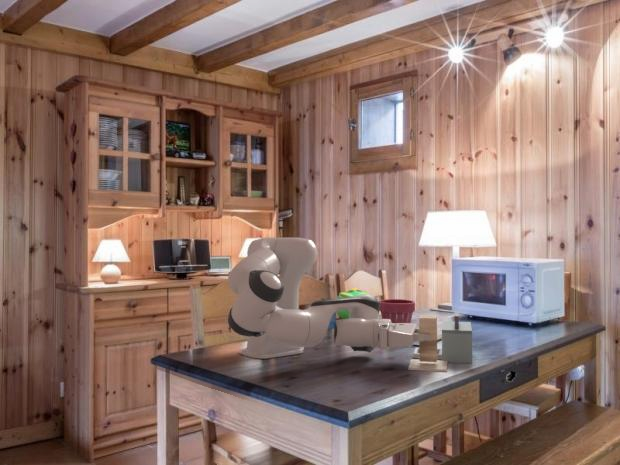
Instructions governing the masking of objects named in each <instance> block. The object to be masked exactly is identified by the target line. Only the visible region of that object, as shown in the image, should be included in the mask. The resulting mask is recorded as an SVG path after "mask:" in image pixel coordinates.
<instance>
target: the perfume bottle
mask: <svg viewBox="0 0 620 465" xmlns="http://www.w3.org/2000/svg"><path fill="white" fill-rule="evenodd" d="M328 299H329V298H322V299H321V300H328ZM336 320H337V313H336V312H335V313H334V314H333V316H332V318H331V321H330V323H329V326H328V330H329V329H330V330H331V329H334V325H335V322H336Z"/></svg>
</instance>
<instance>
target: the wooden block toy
mask: <svg viewBox="0 0 620 465" xmlns="http://www.w3.org/2000/svg"><path fill="white" fill-rule="evenodd" d="M459 318H460V317H459V310H454V321H449V320H448V321H447V320H446V321H445V320H444V321H442V326H441V348H439V347H437V360H442V361H447V363H455V364H458V363H459V364H473V329H472V323H471V321H460V320H459ZM413 359H419V347H414V351H413Z"/></svg>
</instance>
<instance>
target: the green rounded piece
mask: <svg viewBox="0 0 620 465" xmlns="http://www.w3.org/2000/svg"><path fill="white" fill-rule="evenodd" d="M338 294H339V295H337V296H336V298H346V297H354V296H357V295H363V294H366V295H370V294H369V293H368V292H366V291H363V290H359V289H358V288H357V287H353V288H350V289H349V290H346V291H342V292H339V293H338ZM373 296H374V297H375V298H376V296H375V295H373ZM336 315H337V316H338V317H339V318H340V319H348V318H349V310H339V311H336Z"/></svg>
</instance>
